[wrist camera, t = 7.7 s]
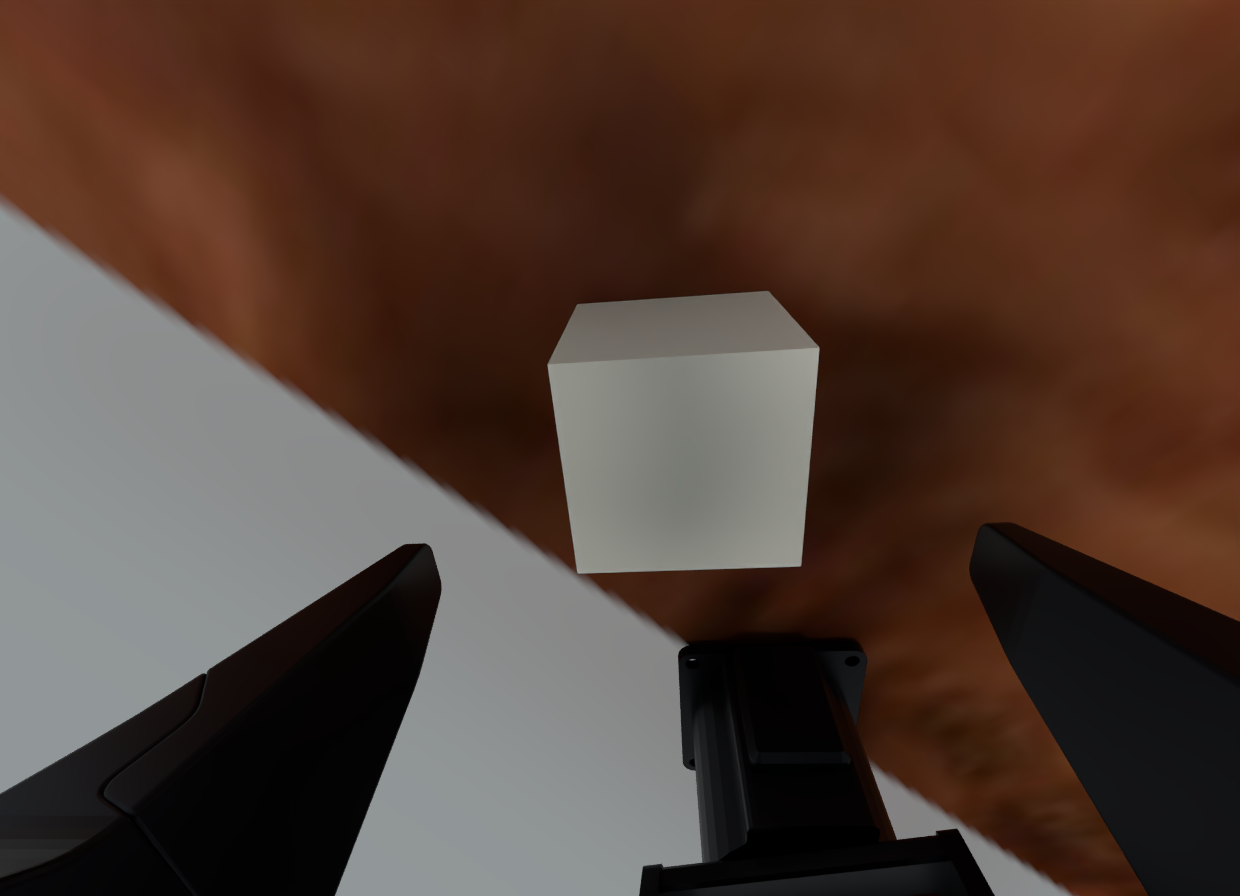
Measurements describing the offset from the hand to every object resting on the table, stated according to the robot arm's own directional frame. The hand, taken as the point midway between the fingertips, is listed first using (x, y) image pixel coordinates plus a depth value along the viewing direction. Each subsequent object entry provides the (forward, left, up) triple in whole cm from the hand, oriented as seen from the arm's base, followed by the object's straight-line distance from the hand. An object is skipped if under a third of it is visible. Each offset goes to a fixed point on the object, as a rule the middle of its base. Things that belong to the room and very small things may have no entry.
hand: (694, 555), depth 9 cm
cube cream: (0, 0, -8) cm, 8 cm away
